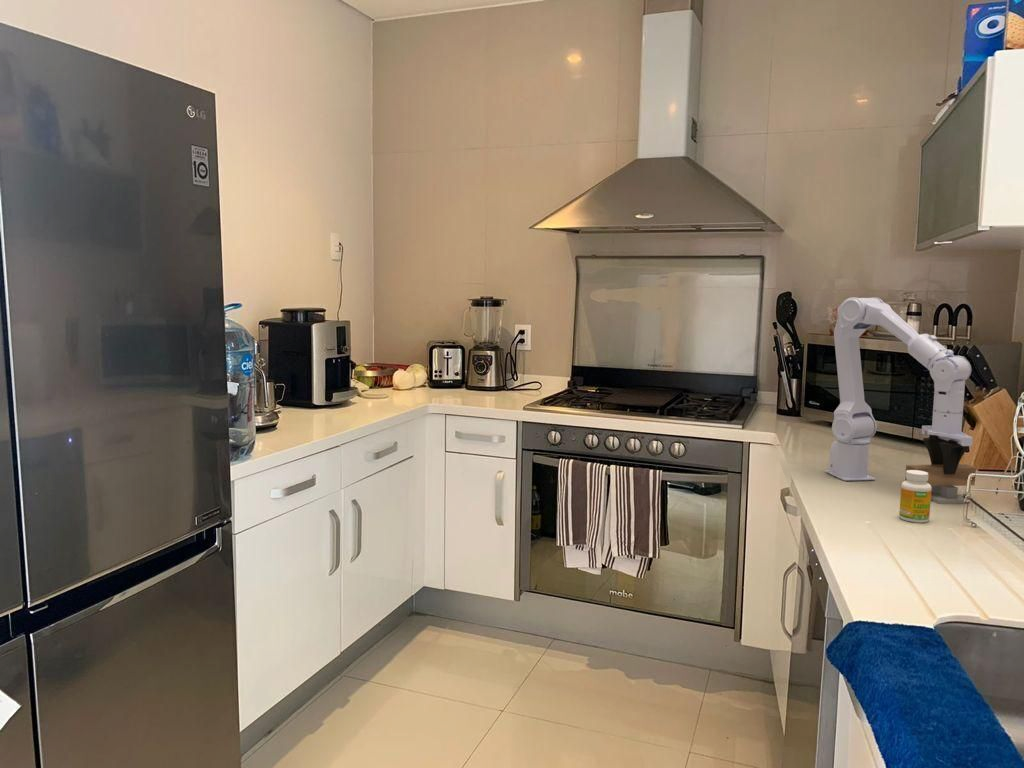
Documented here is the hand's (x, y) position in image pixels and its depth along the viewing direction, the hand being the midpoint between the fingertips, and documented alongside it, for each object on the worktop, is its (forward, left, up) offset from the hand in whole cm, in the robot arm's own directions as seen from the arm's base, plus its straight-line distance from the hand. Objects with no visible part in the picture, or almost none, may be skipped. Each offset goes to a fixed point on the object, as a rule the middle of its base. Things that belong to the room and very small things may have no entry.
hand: (943, 472), depth 172 cm
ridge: (0, 0, -6) cm, 6 cm away
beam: (0, -1, -3) cm, 3 cm away
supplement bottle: (+15, -16, -6) cm, 23 cm away
